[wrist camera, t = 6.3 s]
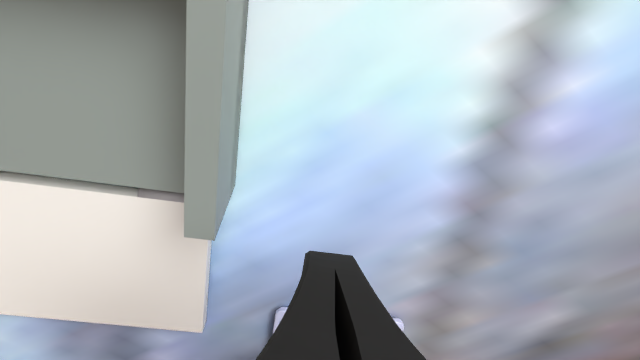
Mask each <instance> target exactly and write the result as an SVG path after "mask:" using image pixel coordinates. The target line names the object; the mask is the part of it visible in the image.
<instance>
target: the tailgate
mask: <svg viewBox="0 0 640 360" xmlns="http://www.w3.org/2000/svg"><path fill="white" fill-rule="evenodd" d="M210 255H211V240H204V239H195V238H187V237H184V193H177V192H169V191H161V190H153V189H145V188H131V187H123V186H115V185H107V184H99V183H91V182H83V181H75V180H67V179H58V178H50V177H42V176H34V175H26V174H18V173H10V172H2V171H0V314H4V315H15V316H26V317H37V318H47V319H58V320H69V321H80V322H90V323H101V324H112V325H123V326H133V327H144V328H155V329H165V330H176V331H187V332H198V333H202V332H203V329H204V326H205V323H206V316H207V301H208V286H209V271H210Z"/></svg>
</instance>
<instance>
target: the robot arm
mask: <svg viewBox="0 0 640 360" xmlns="http://www.w3.org/2000/svg"><path fill="white" fill-rule="evenodd" d="M403 329H404V325H403V322H402V320H400V319H398V318H392V317H391V316H390V314H389V313H388V311H387V310H386V308H385V307H384V305H383V304H382V302H381V301H380V300H379V298H378V297H377V295H376V294H375V292H374V290H373V289H372V287H371V286H370V284H369V282H368V281H367V279H366V277H365V276H364V274H363V272H362V271H361V269H360V267H359V266H358V264H357V262H356V260H355V259H354V257H353V256H351V255H342V254H333V253H324V252H316V251H309V252H307V253H306V254H305V259H304V265H303V271H302V276H301V279H300V282H299V284H298V287H297V289H296V291H295V294H294V296H293V298H292V300H291V303H290V304H289V306H288V307H281V308H278V309H277V310H276V313H275V320H274V327H273V334H272V337H271V338H270V340H269V341H268V343H267V344H266V346H265V347H264V349H263V350H262V352H261V353H260V354H259V356H258V357H257V359H256V360H426V359H425V358H424V356H423V355H422V354H421V353H420V352H419V351H418V350H417V349H416V348H415V346H414V345H413V344H412V343H411V342H410V340H409V339H408V338H407V337H406V335H405V334H404V333H403Z"/></svg>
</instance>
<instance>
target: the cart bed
mask: <svg viewBox="0 0 640 360" xmlns="http://www.w3.org/2000/svg"><path fill="white" fill-rule="evenodd" d="M247 14H248V0H0V171H8V172H16V173H24V174H32V175H40V176H48V177H57V178H65V179H73V180H81V181H89V182H97V183H105V184H113V185H121V186H129V187H137V188H145V189H153V190H161V191H169V192H177V193H184V237H187V238H195V239H204V240H213V241H214V240H215V237H216V235H217V232H218V229H219V227H220V224H221V221H222V219H223V216H224V213H225V211H226V208H227V205H228V203H229V200H230V197H231V194H232V192H233V189H234V186H235V178H236V165H237V151H238V137H239V124H240V110H241V96H242V83H243V69H244V55H245V42H246V28H247Z"/></svg>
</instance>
